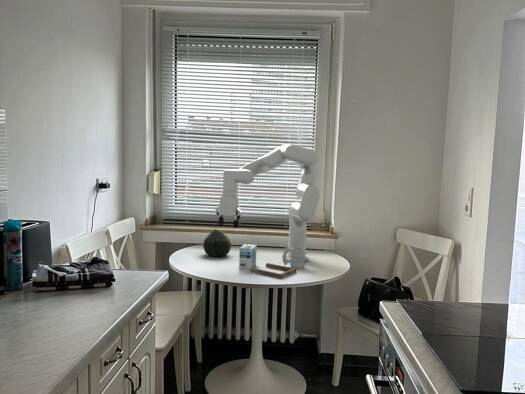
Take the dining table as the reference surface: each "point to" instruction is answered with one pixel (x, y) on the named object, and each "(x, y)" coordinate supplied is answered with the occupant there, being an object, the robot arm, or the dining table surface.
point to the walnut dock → (272, 274)
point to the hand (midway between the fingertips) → (228, 226)
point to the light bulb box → (247, 256)
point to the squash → (217, 244)
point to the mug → (294, 257)
